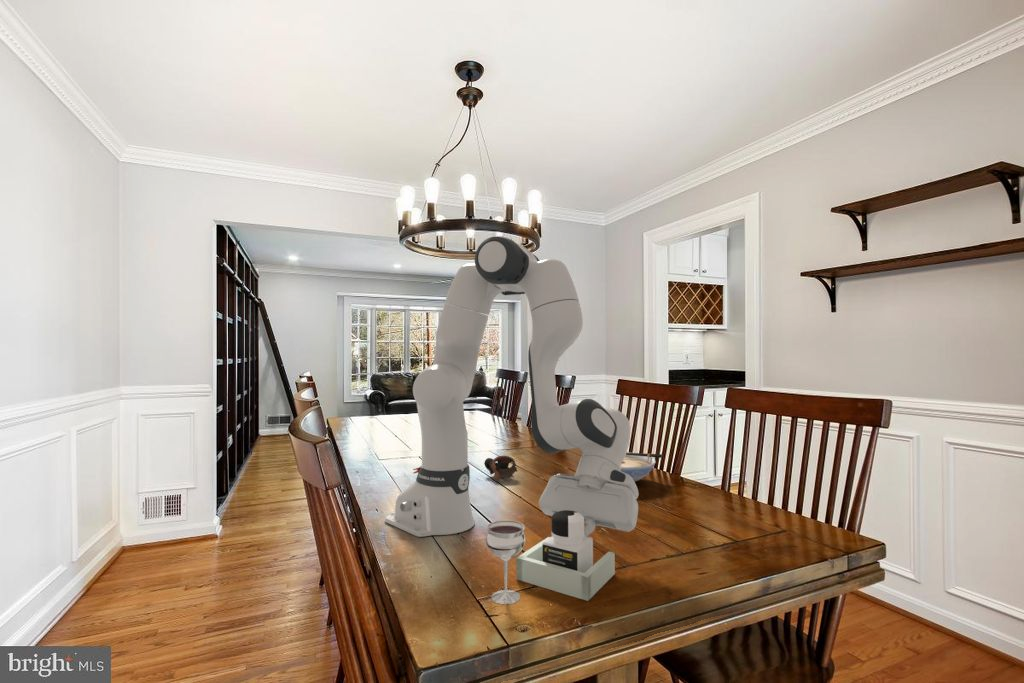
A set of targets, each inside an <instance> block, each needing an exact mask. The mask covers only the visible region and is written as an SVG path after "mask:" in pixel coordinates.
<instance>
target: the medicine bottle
mask: <svg viewBox="0 0 1024 683" xmlns="http://www.w3.org/2000/svg"><path fill="white" fill-rule="evenodd" d="M584 527H585V523H584V517H583V515H582V514H580V513H578V512H575V511H570V510H563V511H559V512H556V513H554V514H553V515H552V516H551V536H549V537H550V538H549V539H547V540H546V541H544V542H543V562H546V563H550V564H553V565H557V566H561V567H564V568H568V569H572V570H575V571H579V572H583V573H585V572H586V571H587V570H588V569H589V568H591V567H592V566H593V565H594V539H593V537H591V536H584Z"/></svg>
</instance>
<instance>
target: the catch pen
mask: <svg viewBox="0 0 1024 683" xmlns="http://www.w3.org/2000/svg"><path fill="white" fill-rule="evenodd" d="M550 537H551V536H547V537H546V538H544V539H543V540H542V541H540V542H538V543H537V544H535V545H534V546H532V547H531V548H529V549H527V550H526V551H525V552H523V553H521V554H520V555H517V556H516V563H515V564H516V565H515V566H516V570H515V571H516V580H518V581H520V582H524V583H528V584H531V585H534V586H537V587H540V588H544V589H547V590H550V591H553V592H557V593H559V594H563V595H566V596H569V597H573V598H577V599H579V600H583V601H586V602H588V601H590V600H591V599H592V598H593V597H594V596H595V594H597V593H598V592H599V590H601V588H603V586H604V585H605V584H606V583H608V581H609V580H611V579H612V577H613V576H615V574H616V571H615V570H616V567H615V566H616V562H615V561H616V560H615V559H616V558H615V557H616V555H615V552H613V551H608V552H606V553H605V554H604V555H603V556H602V557H601V558H600V559H598V560H597V561H596V562H595V563H593V566H592V567H591V568H589V569H588V570H587V571H586V572H585V573H583V572H579V571H575V570H572V569H568V568H564V567H561V566H557V565H553V564H550V563H546V562H543V542H544V541H546V540H547V539H549V538H550Z"/></svg>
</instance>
